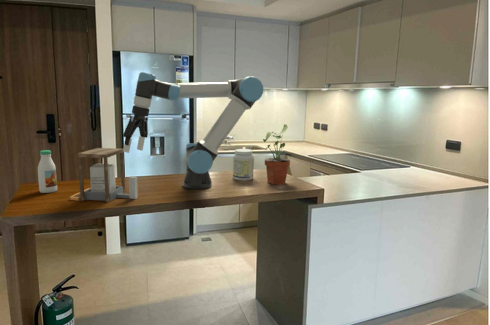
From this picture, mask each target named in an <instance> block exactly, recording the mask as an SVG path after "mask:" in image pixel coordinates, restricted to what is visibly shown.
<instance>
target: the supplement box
mask: <svg viewBox="0 0 490 325" xmlns="http://www.w3.org/2000/svg"><path fill="white" fill-rule="evenodd" d="M89 178H90V179H89V180H90V188H91V192H104V193H105V179H104V163H102V162H101V163H94V164H93V165H91V166H90V167H89ZM108 180H109V193H110V192H111V191H113V190H115V189H116V186H117V185H116V184H117V183H116V168H115V163H108Z"/></svg>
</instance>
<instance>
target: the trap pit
mask: <svg viewBox="0 0 490 325" xmlns="http://www.w3.org/2000/svg"><path fill="white" fill-rule="evenodd" d="M90 188H91V187H88V188H86V189H84V191H86V190H88V189H90ZM68 200H69V201H79V202H80V201H81V198H80V191H79V192H77V193H75V194H73V195H71V196H68Z"/></svg>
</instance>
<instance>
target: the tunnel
mask: <svg viewBox="0 0 490 325" xmlns="http://www.w3.org/2000/svg"><path fill="white" fill-rule="evenodd" d="M124 153H125V152H123V148H111V147H110V148H108V147H96V148H92V149H89V150H86V151H81V152H78V153H77V166H78V180H79V192H80V198H81V200H80V201H82V202H83V201H86V199H85V197H84V190H85V185H84V171H83V170H84V169H83V158H90V159H91V158H92V159H93V158H94V159H95V158H96V160H97V161H96V162H97V163H96V164H98V163H101V164H102V159H103V164H104V179H105V199H106V201H105V203H110V202H111V201H109V180H108V164H109V161H108V158H111V157H113V156H115V155H120V156H119V158H120V180H121V186H123V194H126V180H125V179H126V177H125V173H126V172H125V154H124Z"/></svg>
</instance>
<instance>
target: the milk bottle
mask: <svg viewBox="0 0 490 325" xmlns="http://www.w3.org/2000/svg"><path fill="white" fill-rule="evenodd" d="M39 154H40V159H39V162H38V164H37V165H38V166H37V177H38V178H37V179H38V189H39V190H38V191H39V193H40V194H42V193H43V194H45V193H46V194H48V193H55V192H57V191H58V180H57V179H58V178H57V177H58V176H57V170H56V169H57V167H56V164H55V163H54V161H53V159H52V151H51V150H49V149H45V150H44V149H43V150H40V151H39Z"/></svg>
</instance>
